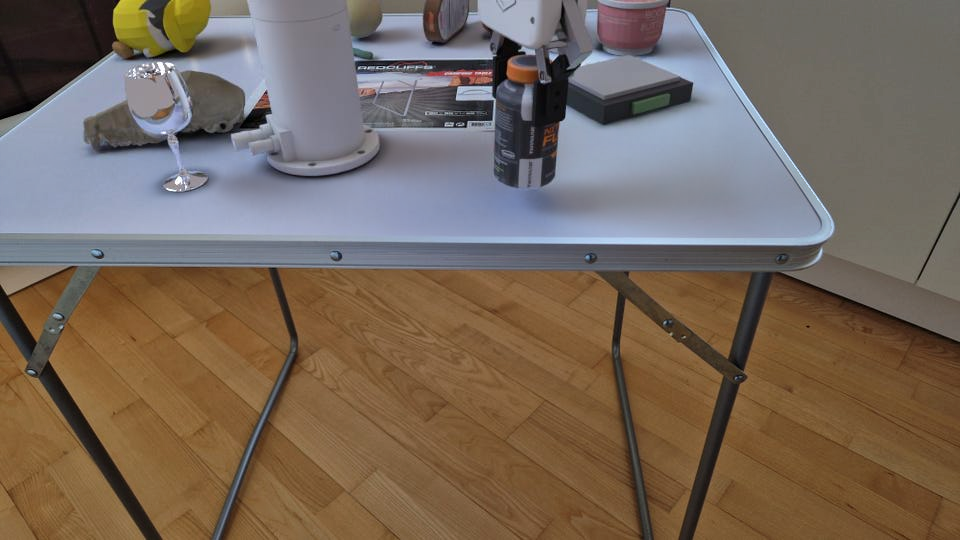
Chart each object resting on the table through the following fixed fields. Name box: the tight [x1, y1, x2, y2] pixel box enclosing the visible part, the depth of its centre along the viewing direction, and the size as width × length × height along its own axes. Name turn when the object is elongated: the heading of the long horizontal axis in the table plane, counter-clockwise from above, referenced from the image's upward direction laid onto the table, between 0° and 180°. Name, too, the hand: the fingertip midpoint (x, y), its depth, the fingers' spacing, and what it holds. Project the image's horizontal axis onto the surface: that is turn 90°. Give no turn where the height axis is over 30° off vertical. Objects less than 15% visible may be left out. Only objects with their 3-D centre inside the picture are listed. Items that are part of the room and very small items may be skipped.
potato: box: [346, 0, 383, 39], centre depth 109 cm, size 8×8×8 cm
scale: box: [567, 55, 694, 126], centre depth 86 cm, size 14×12×3 cm
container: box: [596, 0, 670, 57], centre depth 101 cm, size 10×10×8 cm
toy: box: [111, 0, 212, 59], centre depth 106 cm, size 13×10×15 cm
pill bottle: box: [493, 54, 561, 190], centre depth 61 cm, size 6×6×11 cm
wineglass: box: [123, 61, 209, 193], centre depth 68 cm, size 6×6×12 cm
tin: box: [422, 0, 470, 44], centre depth 108 cm, size 15×3×8 cm, turn 161°
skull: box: [82, 69, 246, 152], centre depth 79 cm, size 9×18×10 cm
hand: (527, 107), depth 61 cm, fingers closed on pill bottle, 6 cm apart
